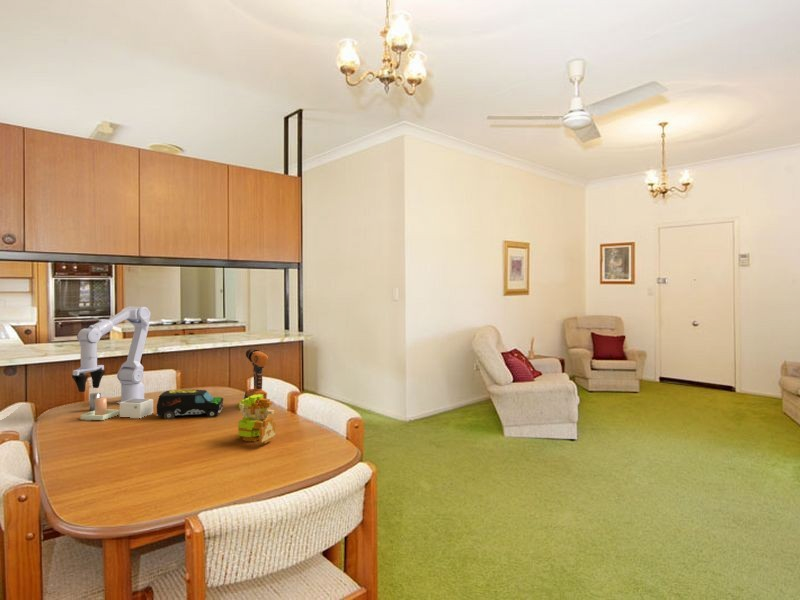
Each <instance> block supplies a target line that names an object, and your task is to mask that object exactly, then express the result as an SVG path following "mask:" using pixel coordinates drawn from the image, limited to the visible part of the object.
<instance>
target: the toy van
mask: <svg viewBox="0 0 800 600" xmlns="http://www.w3.org/2000/svg"><path fill="white" fill-rule="evenodd" d="M223 408H224V398H223V397H222V396H213V395H212V394H211V393H209V391H208V390H206V389H177V390H166V391H164V392H162V393H161V394H160V395H159V396H158V399H157V403H156V414H155V416H156V417H160V416H162V417H163V418H164V419H165V420H171V419H175V416H189V415H192V416H193V415H206V416H207V418H217V417H218V414H219V413H221V412H222V410H223ZM217 411H218V412H217Z"/></svg>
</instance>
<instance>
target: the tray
mask: <svg viewBox="0 0 800 600" xmlns="http://www.w3.org/2000/svg"><path fill="white" fill-rule="evenodd" d="M119 414H120V409H112V408H111V409H107V414H105V415H95V410H94V411H87V412H86V413H83V414H80V420H81V419H85V420H84V421H91V420H104V421H106V420H105V419H107V420H109V419H108V418H110V419H112V418H111V417H113V418H115V417H114V416H116V417H118V416H120V415H119ZM117 415H118V416H117Z"/></svg>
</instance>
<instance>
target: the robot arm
mask: <svg viewBox="0 0 800 600" xmlns="http://www.w3.org/2000/svg"><path fill="white" fill-rule="evenodd" d="M151 314H152V313H151V311H150V310H149V308H148V307H146V306H130V305H129V306H126V307H125V308H122V309H121V311H119V312H118V313H116V314H115V315H113V316H112V317H110V318H108V319H105V318H104V319H103V318H102V319H99V320H98V322H96V323H93V324H91V325H89V327H88V328H84V327H83V328H82V329H80V330H79V332H78V333H77V335H76V339H77V340H78V343H79V345H80V346H79V347H80V367H78V368H77V369H74V370H72V375H71V378H72V379H73V381H74V382H75V384H76V387H77V390H78V392H79V393H84V392H85V391H86V383H87V379H88V377H89V375H87V374H88V373H89V374H90V376H91V383H92V388H93V389H98V388H99V387H100V385H101V380H102V378H103V376H104V375H105V373H106V370H105V365H104V364H98V342H99V341H100V339H101V338H102V337H103V336H104V335H106V334H108V333H110V332H112V331H113V327H114V326H117V325H118V324H120V323H122V322H124V321H126V320H127V321H128V322H129V324H131V325H132V326H133V327H134V331H133V336H132V340H131V343H130V347H129V351H128V354H127V358H126V361H124V362H123V363H122V364H121V366H120V368H119V370H118V371H117V374H116V378H117V380H118V381H119V383H120V384H121V385H120V394H121V395H120V399H121V400H120V401H117V402H116V404H117V403H118V404H119V405H120V403H121V402H124V401H127V400H130V399H133V398H137V399H145V385H144V383H143V382H142V380H143V379H144V368H145V367H144V366H143V364H142V363H141V360H142V356H143V352H144V349H145V344H146V339H147V336H148V332H149V328H150V318H151ZM118 404H117V405H118Z"/></svg>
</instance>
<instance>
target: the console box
mask: <svg viewBox="0 0 800 600" xmlns="http://www.w3.org/2000/svg"><path fill="white" fill-rule="evenodd" d="M119 410H120V415H119V418H120V417H130V418H129V419H139V418H140V419H142V417H143V418H145V417H147V415H148V416H151V415H152V413H153V414H154V398H144V399H137V398H133V399H130V400H127V401H124V402H121V403H120V404H119ZM144 416H145V417H144Z"/></svg>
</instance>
